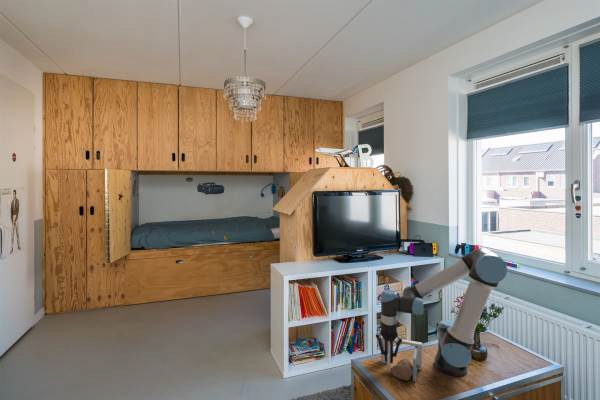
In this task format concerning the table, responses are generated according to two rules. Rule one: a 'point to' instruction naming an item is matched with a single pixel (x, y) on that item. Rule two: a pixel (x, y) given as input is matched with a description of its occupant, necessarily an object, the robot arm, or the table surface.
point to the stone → (402, 370)
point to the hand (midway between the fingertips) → (388, 368)
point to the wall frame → (404, 343)
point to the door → (415, 363)
